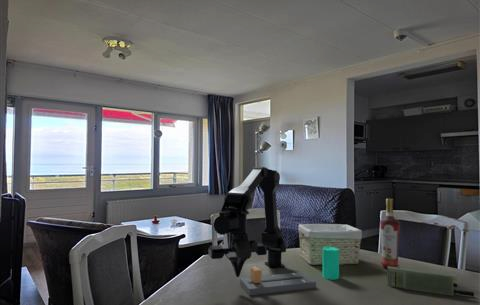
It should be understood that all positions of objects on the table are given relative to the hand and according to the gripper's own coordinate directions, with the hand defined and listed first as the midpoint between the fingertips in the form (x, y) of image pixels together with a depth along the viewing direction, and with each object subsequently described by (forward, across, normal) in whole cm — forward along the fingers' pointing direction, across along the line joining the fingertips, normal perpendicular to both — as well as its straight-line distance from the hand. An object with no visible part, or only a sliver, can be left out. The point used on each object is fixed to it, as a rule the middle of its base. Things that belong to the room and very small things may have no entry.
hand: (237, 276), depth 105 cm
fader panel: (+4, +14, 0) cm, 15 cm away
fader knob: (+2, +6, 0) cm, 7 cm away
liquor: (+5, +67, +6) cm, 68 cm away
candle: (+5, +37, +3) cm, 38 cm away
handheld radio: (+5, +62, -18) cm, 64 cm away
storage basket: (+5, +48, +21) cm, 53 cm away
